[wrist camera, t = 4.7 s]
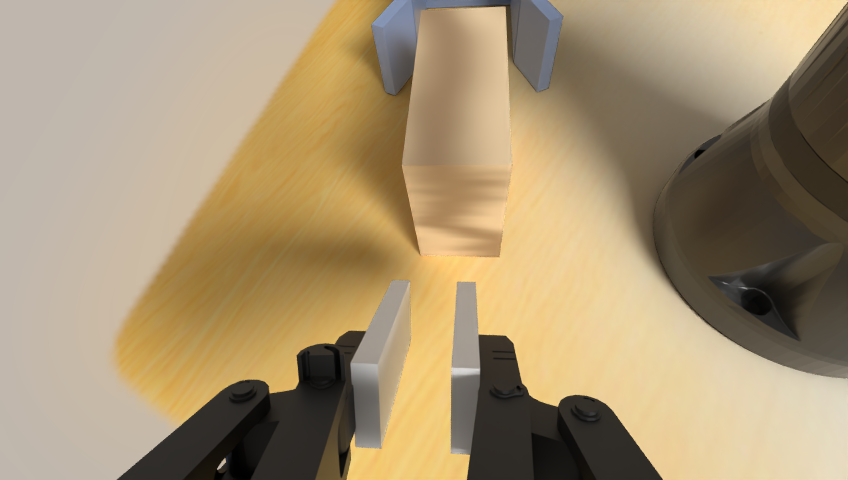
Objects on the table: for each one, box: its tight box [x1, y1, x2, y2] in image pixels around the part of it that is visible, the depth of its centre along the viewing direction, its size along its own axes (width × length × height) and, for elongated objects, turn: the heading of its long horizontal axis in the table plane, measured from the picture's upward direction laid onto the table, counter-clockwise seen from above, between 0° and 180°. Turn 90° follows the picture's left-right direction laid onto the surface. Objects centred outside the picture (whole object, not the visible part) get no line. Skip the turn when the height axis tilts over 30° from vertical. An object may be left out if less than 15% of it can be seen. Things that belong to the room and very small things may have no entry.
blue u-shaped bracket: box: [371, 0, 563, 95], centre depth 34 cm, size 13×13×6 cm
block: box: [402, 7, 512, 257], centre depth 26 cm, size 5×12×9 cm, turn 176°
